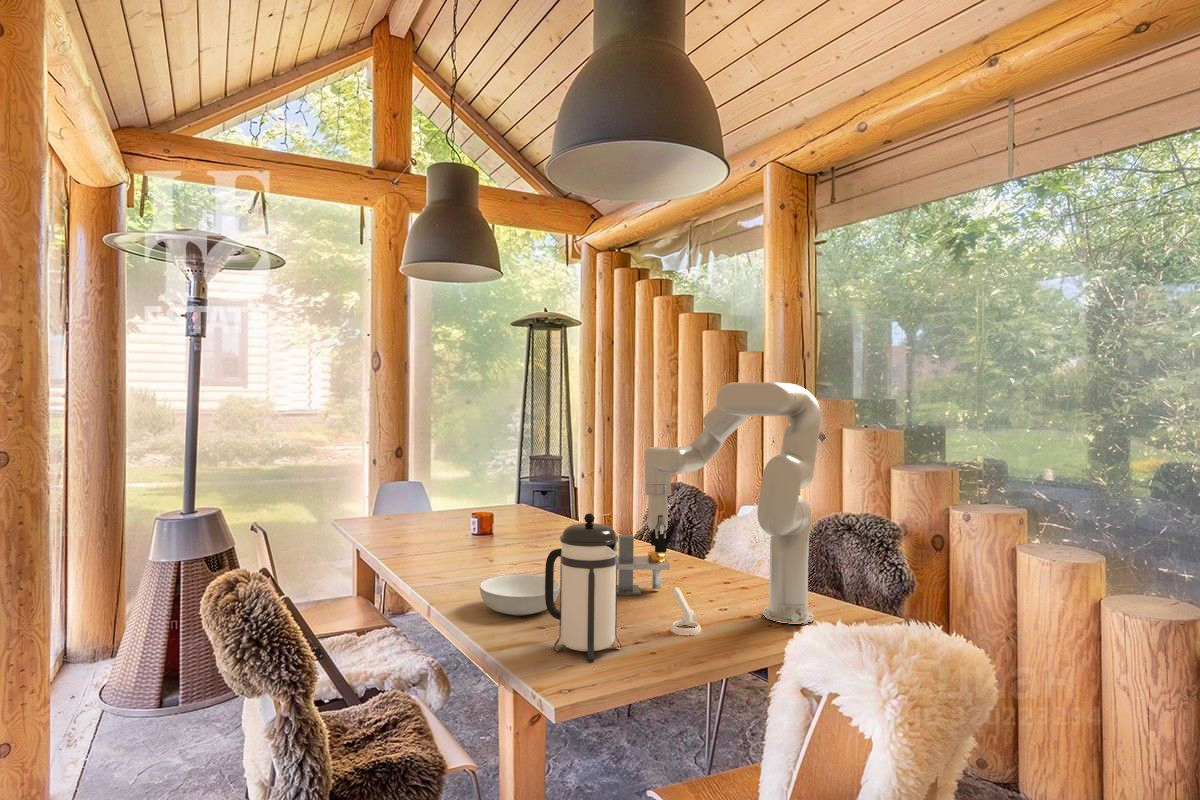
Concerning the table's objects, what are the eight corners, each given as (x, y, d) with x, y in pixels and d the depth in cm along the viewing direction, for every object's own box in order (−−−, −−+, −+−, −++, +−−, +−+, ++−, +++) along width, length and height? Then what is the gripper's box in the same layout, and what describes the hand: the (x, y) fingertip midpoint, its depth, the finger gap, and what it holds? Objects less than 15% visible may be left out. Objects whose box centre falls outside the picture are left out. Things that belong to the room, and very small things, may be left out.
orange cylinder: (648, 590, 194) (648, 555, 194) (646, 585, 199) (647, 551, 199) (666, 590, 194) (667, 555, 194) (664, 585, 199) (664, 551, 199)
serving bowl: (483, 626, 164) (484, 597, 164) (475, 601, 184) (476, 576, 184) (567, 620, 170) (567, 592, 170) (550, 596, 190) (551, 572, 190)
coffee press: (619, 636, 158) (620, 507, 158) (623, 662, 142) (625, 519, 142) (544, 636, 157) (546, 507, 157) (540, 662, 141) (542, 518, 141)
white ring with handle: (659, 599, 170) (683, 585, 169) (683, 644, 165) (707, 630, 164) (650, 601, 163) (674, 586, 162) (675, 648, 159) (700, 633, 157)
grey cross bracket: (669, 596, 191) (669, 539, 191) (612, 596, 191) (613, 539, 191) (664, 586, 201) (665, 532, 201) (610, 586, 201) (611, 532, 201)
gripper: (642, 486, 205) (642, 543, 204) (648, 493, 188) (648, 555, 187) (667, 486, 205) (667, 543, 205) (675, 493, 188) (675, 555, 187)
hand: (658, 548), depth 196 cm, fingers open, 9 cm apart
